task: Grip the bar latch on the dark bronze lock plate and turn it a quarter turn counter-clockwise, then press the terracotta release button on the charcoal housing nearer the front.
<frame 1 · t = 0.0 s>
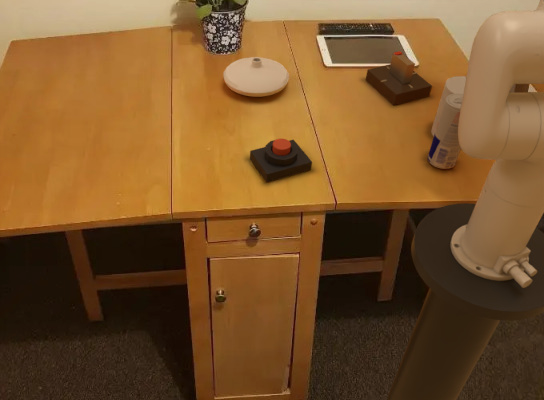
cup: (450, 134, 127), on the table
latch: (401, 67, 136), point 6 cm above the table, hinge at 0.0°
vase: (255, 86, 141), on the table
lock plate: (396, 88, 140), on the table
release button: (281, 147, 116), point 4 cm above the table, slide at 0.1 cm
beverage can: (440, 162, 120), on the table
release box: (280, 164, 119), on the table
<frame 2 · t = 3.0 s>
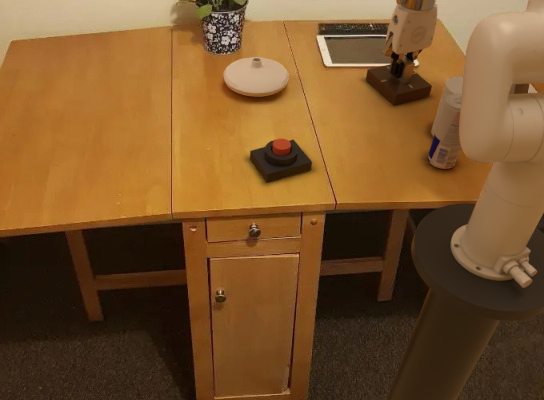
hand: (400, 73, 137), 4 cm above the table, tool pointing down, fingers closed on latch, 2 cm apart
latch: (401, 67, 136), point 6 cm above the table, hinge at 0.0°, touching gripper
everything else where it was.
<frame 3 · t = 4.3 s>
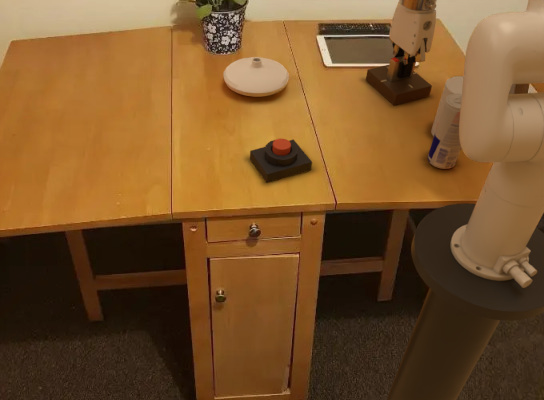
hand: (400, 73, 137), 4 cm above the table, tool pointing down, fingers closed on latch, 2 cm apart
latch: (401, 67, 136), point 6 cm above the table, hinge at 89.3°, touching gripper
everything else where it was.
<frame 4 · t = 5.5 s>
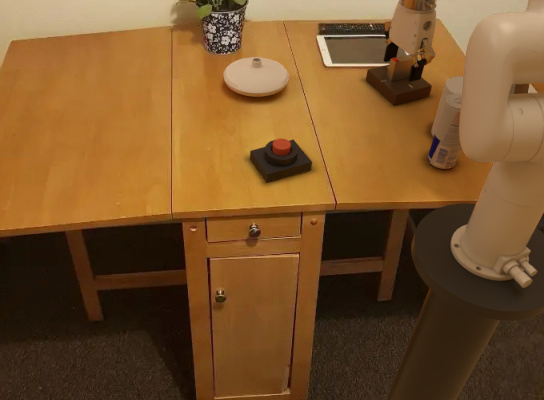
hand: (401, 70, 136), 5 cm above the table, tool pointing down, fingers open, 9 cm apart
latch: (401, 67, 136), point 6 cm above the table, hinge at 89.4°
everything else where it was.
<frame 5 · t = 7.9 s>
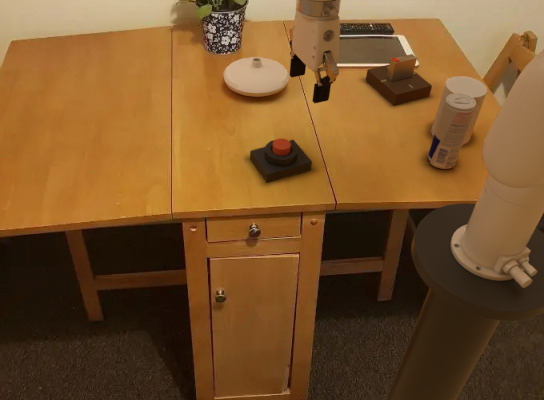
hand: (308, 88, 112), 15 cm above the table, tool pointing down, fingers open, 9 cm apart
nothing on the table moved.
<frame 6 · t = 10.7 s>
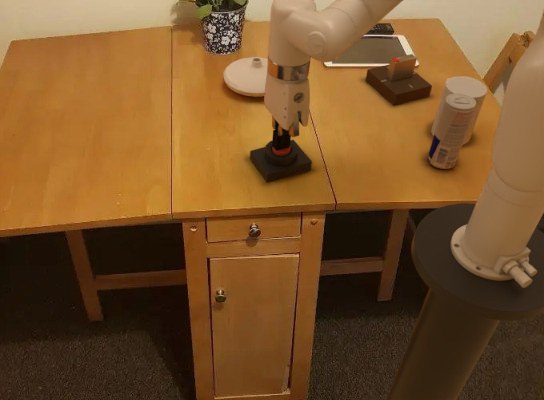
hand: (280, 146, 116), 5 cm above the table, tool pointing down, fingers closed
release button: (281, 150, 117), point 4 cm above the table, slide at -0.7 cm, touching gripper
everything else where it was.
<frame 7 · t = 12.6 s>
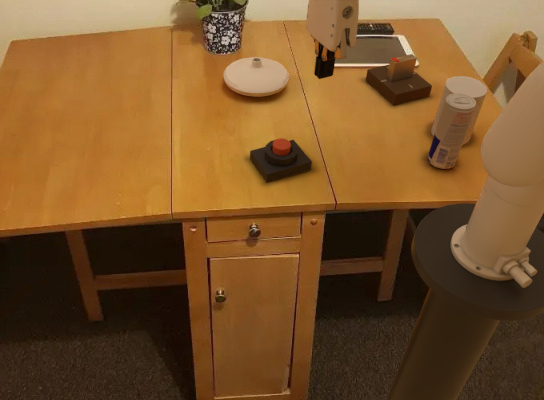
hand: (323, 75, 109), 18 cm above the table, tool pointing down, fingers closed
release button: (281, 147, 116), point 4 cm above the table, slide at 0.1 cm
everything else where it was.
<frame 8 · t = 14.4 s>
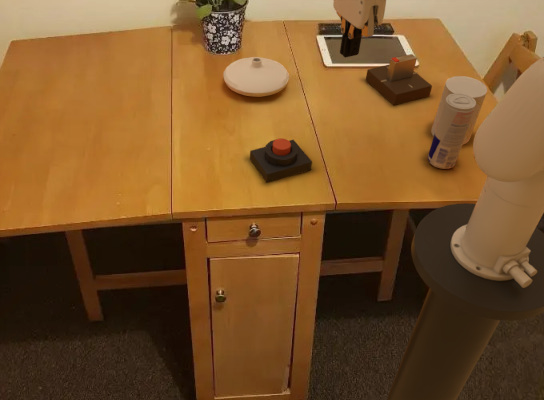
hand: (349, 54, 110), 21 cm above the table, tool pointing down, fingers closed
nothing on the table moved.
at the end: latch at +89° (first picture: +0°); release button pushed in 1.1 cm at the most during the clip, back to where it started at the end; release button slide at 0.1 cm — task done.
